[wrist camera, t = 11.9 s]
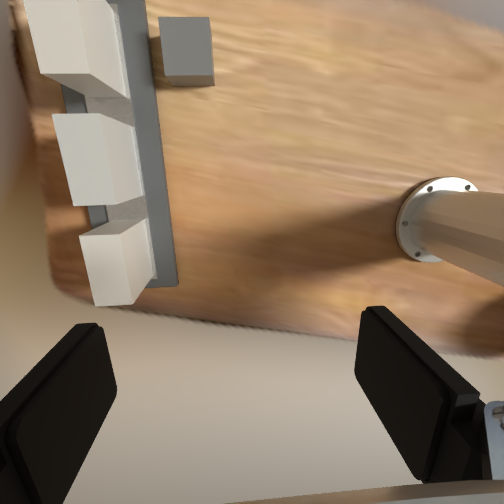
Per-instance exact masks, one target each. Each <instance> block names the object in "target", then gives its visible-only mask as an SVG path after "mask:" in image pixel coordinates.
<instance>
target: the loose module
mask: <svg viewBox="0 0 504 504" xmlns="http://www.w3.org/2000/svg"><path fill="white" fill-rule="evenodd" d="M52 118H53V122H54V126H55V130H56V135H57V139H58V143H59V147H60V151H61V155H62V160H63V164H64V168H65V172H66V176H67V180H68V185H69V189H70V193H71V197H72V201H73V206H90V205H116V204H119V203H122V202H125V201H128V200H131V199H134V198H137V197H140V196H142V189H141V183H140V177H139V170H138V164H137V157H136V151H135V144H134V138H133V132H132V126H130V125H127V124H125V123H122V122H120V121H117V120H115V119H112V118H110V117H107V116H105V115H102V114H100V113H79V114H52Z"/></svg>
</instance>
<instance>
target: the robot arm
mask: <svg viewBox="0 0 504 504" xmlns="http://www.w3.org/2000/svg"><path fill="white" fill-rule="evenodd" d="M396 236H397V240H398V243H399V245H400V247H401V248H402V250H403V251H404V252H405V253H406V254H407V255H409V256H410V257H412V258H414V259H416V260H419V261H421V262H427V263H435V262H441V261H447V262H449V263H451V264H453V265H456V266H458V267H460V268H462V269H465V270H467V271H469V272H471V273H474V274H476V275H478V276H480V277H483V278H485V279H487V280H490V281H492V282H494V283H496V284H499V285H501V286H503V287H504V194H500V193H490V192H480V191H478V189H477V188H476V187H475V186H474V185H473V184H472V183H471V182H469V181H467V180H465V179H462V178H459V177H439V178H435V179H432V180H430V181H427V182H425V183H424V184H422V185H420V186H419V187H417V188H416V189H415V190H414V191H413V192H412V193H411V194H410V195H409V196H408V198H407V199H406V200H405V202H404V203H403V205H402V207H401V208H400V211H399V214H398V216H397V221H396ZM354 371H355V376H356V379H357V381H358V382H359V384H360V386H361V388H362V389H363V391H364V393H365V394H366V396H367V398H368V400H369V401H370V403H371V405H372V406H373V408H374V410H375V412H376V413H377V415H378V417H379V418H380V420H381V422H382V423H383V425H384V427H385V429H386V430H387V432H388V434H389V435H390V437H391V439H392V440H393V442H394V444H395V446H396V447H397V449H398V451H399V452H400V454H401V456H402V457H403V459H404V461H405V463H406V464H407V466H408V468H409V469H410V471H411V473H412V474H413V476H414V477H415V478H416V479H417V480H421V481H422V483H423V484H415V485H403V486H393V487H383V488H373V489H363V490H353V491H343V492H333V493H323V494H313V495H303V496H294V497H283V498H274V499H264V500H255V501H246V502H236V503H227V504H504V401H492V402H489V403H488V404H485V403H484V402H482V401H481V400H480V399H479V396H480V393H479V392H478V391H477V390H476V389H475V388H474V387H473V386H472V385H471V384H470V383H469V382H468V381H466V380H465V379H464V378H463V377H462V376H461V375H460V374H459V373H458V372H457V371H455V370H454V369H453V368H452V367H451V366H450V365H449V364H448V363H447V362H446V361H444V360H443V359H442V358H441V357H440V356H439V355H438V354H437V353H436V352H435V351H434V350H432V349H431V348H430V347H429V346H428V345H427V344H426V343H425V342H424V341H423V340H421V339H420V338H419V337H418V336H417V335H416V334H415V333H414V332H413V331H412V330H410V329H409V328H408V327H407V326H406V325H405V324H404V323H403V322H402V321H401V320H400V319H398V318H397V317H396V316H395V315H394V314H393V313H392V312H391V311H390V310H389V309H387V308H386V307H385V306H369V307H367V308H366V310H365V311H362V313H361V320H360V328H359V336H358V344H357V352H356V361H355V369H354ZM116 394H117V385H116V381H115V377H114V372H113V368H112V364H111V360H110V355H109V351H108V347H107V342H106V338H105V334H104V330H103V328H102V327H99V326H98V325H97V323H81V324H76V325H75V326H74V327H73V328H72V329H71V330H70V331H69V332H68V333H67V334H66V335H65V336H64V337H63V338H62V339H61V340H60V341H59V342H58V343H57V344H56V345H55V346H54V347H53V348H52V349H51V350H50V351H49V352H48V353H47V354H46V355H45V356H44V357H43V358H42V359H41V360H40V361H39V362H38V363H37V364H36V366H34V367H33V369H32V370H31V371H30V372H29V373H28V374H27V375H26V376H25V377H24V378H23V379H22V380H21V381H20V382H19V383H18V384H17V385H16V386H15V387H14V388H13V389H12V390H11V391H10V392H9V393H8V394H7V395H6V396H5V397H4V398H3V399H2V400H1V401H0V504H63V502H64V500H65V498H66V496H67V494H68V492H69V490H70V488H71V486H72V484H73V482H74V480H75V478H76V476H77V474H78V472H79V470H80V468H81V466H82V464H83V462H84V460H85V458H86V456H87V454H88V452H89V450H90V448H91V446H92V444H93V442H94V440H95V438H96V436H97V434H98V432H99V430H100V428H101V426H102V424H103V422H104V420H105V418H106V415H107V414H108V412H109V410H110V408H111V406H112V404H113V402H114V400H115V397H116Z"/></svg>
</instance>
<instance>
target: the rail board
mask: <svg viewBox="0 0 504 504" xmlns="http://www.w3.org/2000/svg"><path fill="white" fill-rule="evenodd" d="M106 1H107V3H108V4H117V5H118V6H119V13H120V20H121V27H122V34H123V41H124V48H125V54H126V61H127V68H128V75H129V82H130V89H131V96H132V103H133V109H134V116H135V123H136V130H137V137H138V144H139V151H140V158H141V164H142V171H143V178H144V185H145V192H146V199H147V206H148V213H149V219H150V226H151V233H152V240H153V247H154V254H155V261H156V268H157V274H158V278H157V279H150V281H149V282H148V284H147V285H146V286H145V288H156V287H175V286H177V285H178V283H179V282H178V273H177V265H176V257H175V248H174V240H173V232H172V223H171V215H170V206H169V198H168V190H167V181H166V173H165V165H164V156H163V148H162V139H161V131H160V123H159V114H158V106H157V98H156V89H155V81H154V73H153V64H152V56H151V47H150V39H149V31H148V22H147V14H146V6H145V0H106ZM61 88H62V92H63V97H64V102H65V106H66V111H67V114H79V113H88V111H87V106H86V101H85V96H84V94H82V93H79V92H77V91H75V90H73V89H71V88H69V87H67V86H65V85H63V84H61ZM87 207H88V212H89V217H90V221H91V226H92V230H93V229H95V228H97V227H99V226H101V225H104V224H106V223H108V222H109V219H108V214H107V208H106V205H90V206H87Z"/></svg>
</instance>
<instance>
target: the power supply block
mask: <svg viewBox="0 0 504 504" xmlns="http://www.w3.org/2000/svg"><path fill="white" fill-rule="evenodd" d="M158 20H159V29H160V38H161V47H162V55H163V64H164V73H165V76H166V78H167V79H168V81H169V82H170V83H171V85H172V86H215V80H214V64H213V48H212V34H211V27H210V20H209V17H158Z"/></svg>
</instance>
